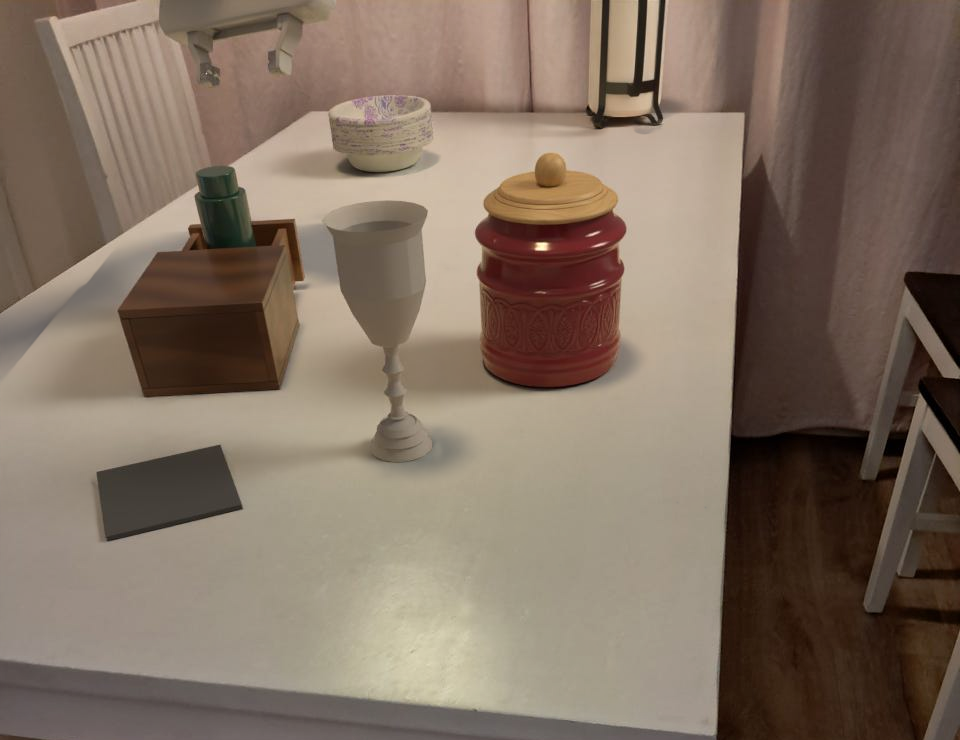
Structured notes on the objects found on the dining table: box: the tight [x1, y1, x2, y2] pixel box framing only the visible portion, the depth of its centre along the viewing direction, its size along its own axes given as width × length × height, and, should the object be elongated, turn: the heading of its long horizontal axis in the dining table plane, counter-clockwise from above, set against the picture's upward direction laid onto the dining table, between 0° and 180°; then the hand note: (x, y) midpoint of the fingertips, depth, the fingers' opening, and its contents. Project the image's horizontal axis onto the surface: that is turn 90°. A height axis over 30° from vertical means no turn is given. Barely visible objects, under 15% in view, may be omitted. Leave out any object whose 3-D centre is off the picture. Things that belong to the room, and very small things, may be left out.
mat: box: [95, 444, 243, 542], centre depth 72 cm, size 10×10×1 cm
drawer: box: [180, 218, 306, 290], centre depth 98 cm, size 17×11×6 cm, turn 1°
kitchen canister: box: [474, 152, 628, 388], centre depth 81 cm, size 13×13×18 cm
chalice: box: [322, 200, 433, 463], centre depth 70 cm, size 7×7×18 cm
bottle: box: [193, 165, 257, 249], centre depth 93 cm, size 5×5×12 cm
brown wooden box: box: [116, 245, 300, 397], centre depth 87 cm, size 15×13×8 cm
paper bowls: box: [327, 94, 434, 173], centre depth 138 cm, size 15×15×8 cm
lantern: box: [585, 0, 670, 129], centre depth 144 cm, size 17×16×30 cm
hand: (243, 80), depth 91 cm, fingers open, 8 cm apart
